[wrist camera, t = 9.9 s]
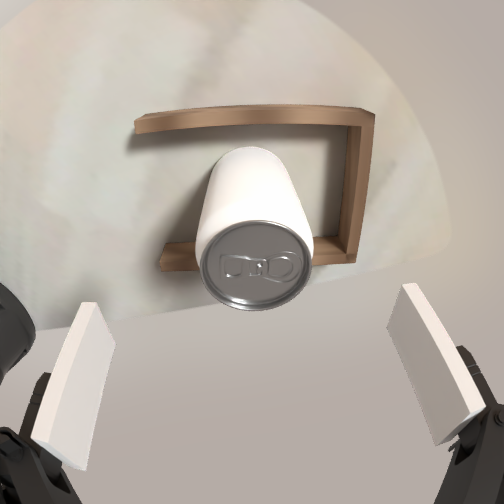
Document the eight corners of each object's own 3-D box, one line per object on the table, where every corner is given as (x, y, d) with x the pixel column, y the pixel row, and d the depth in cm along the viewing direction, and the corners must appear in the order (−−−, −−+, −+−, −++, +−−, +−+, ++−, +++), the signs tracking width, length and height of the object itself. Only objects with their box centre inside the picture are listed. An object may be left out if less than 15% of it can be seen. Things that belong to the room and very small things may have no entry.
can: (285, 217, 27) (310, 316, 18) (211, 216, 27) (196, 316, 17) (291, 146, 24) (330, 213, 14) (209, 144, 24) (185, 212, 14)
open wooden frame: (167, 252, 29) (161, 271, 27) (145, 114, 22) (133, 120, 19) (346, 244, 29) (355, 262, 27) (360, 108, 22) (375, 114, 20)
